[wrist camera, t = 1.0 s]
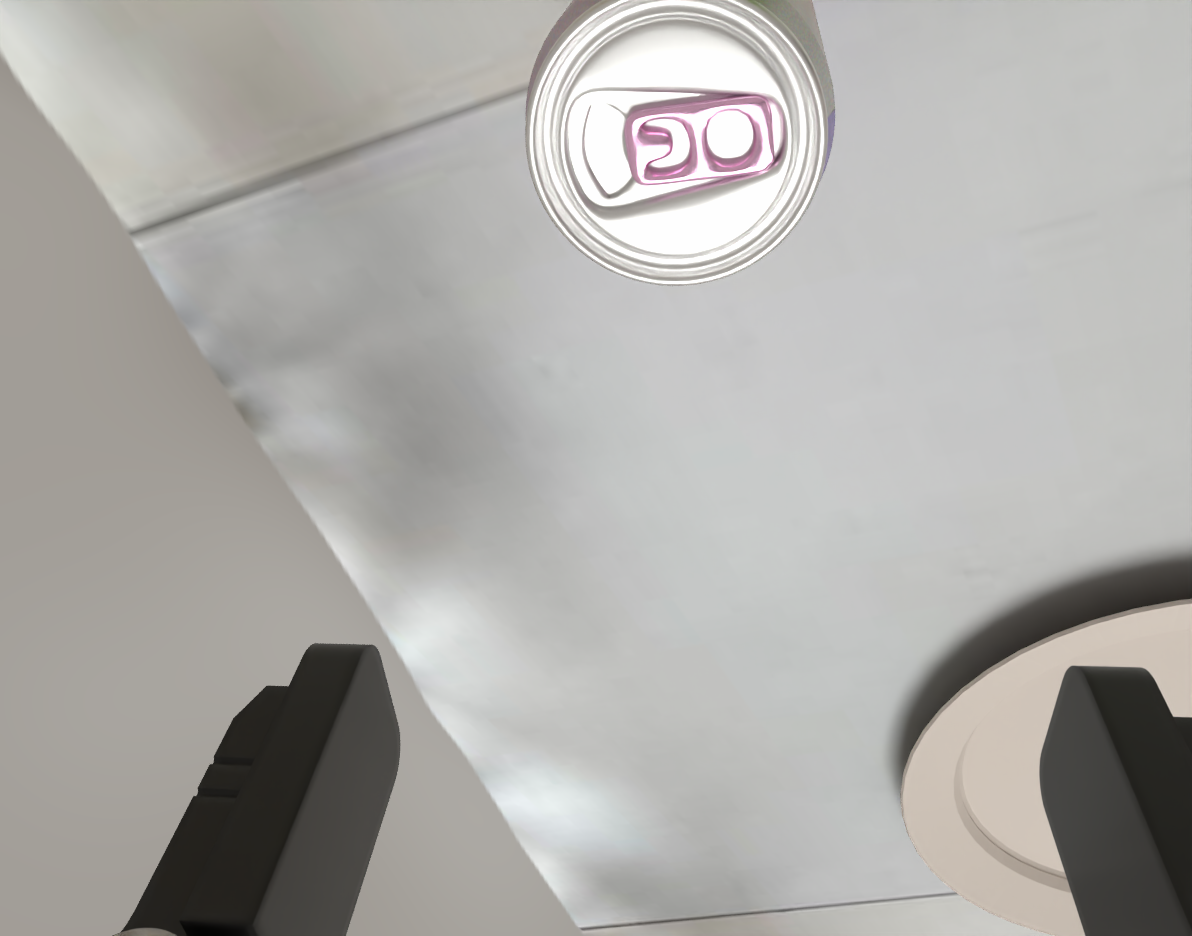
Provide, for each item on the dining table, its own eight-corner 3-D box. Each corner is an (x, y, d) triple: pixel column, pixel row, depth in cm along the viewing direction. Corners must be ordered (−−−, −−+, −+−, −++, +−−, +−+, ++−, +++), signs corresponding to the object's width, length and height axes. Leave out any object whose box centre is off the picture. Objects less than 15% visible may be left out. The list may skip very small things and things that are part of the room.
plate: (1087, 961, 58) (1096, 996, 56) (790, 741, 50) (791, 773, 48) (1597, 792, 45) (1629, 831, 43) (1306, 457, 37) (1332, 489, 35)
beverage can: (808, 80, 31) (843, 281, 19) (623, 104, 32) (547, 309, 20) (799, -137, 28) (834, -59, 16) (594, -100, 29) (481, -2, 17)
